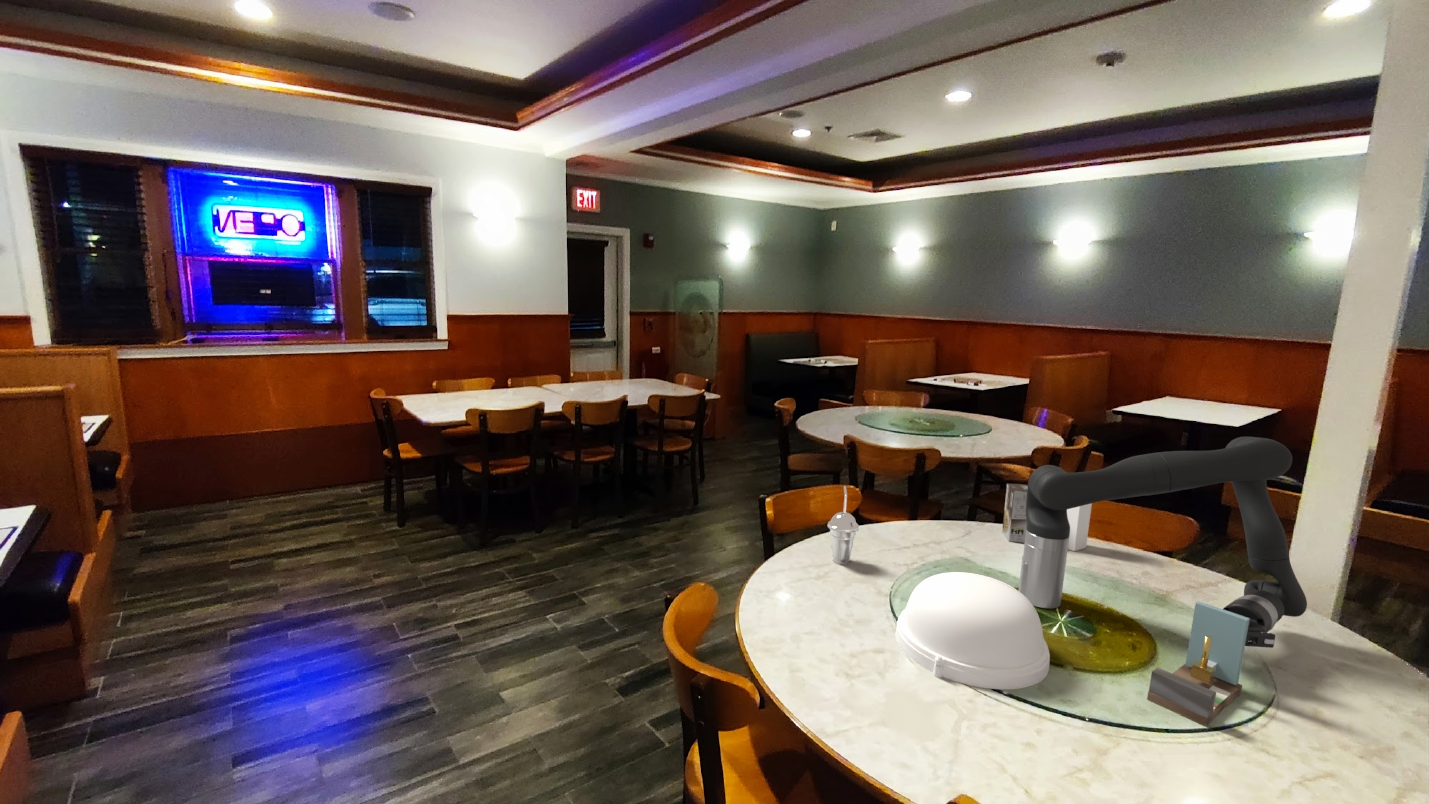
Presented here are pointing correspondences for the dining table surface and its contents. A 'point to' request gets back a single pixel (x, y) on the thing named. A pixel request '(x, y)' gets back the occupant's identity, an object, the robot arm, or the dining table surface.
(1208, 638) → the gold upright bar
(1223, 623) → the blue-grey rectangular panel
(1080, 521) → the milk
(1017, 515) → the coffee box
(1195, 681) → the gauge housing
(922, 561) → the dining table surface
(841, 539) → the cup with straw
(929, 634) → the dome cover
